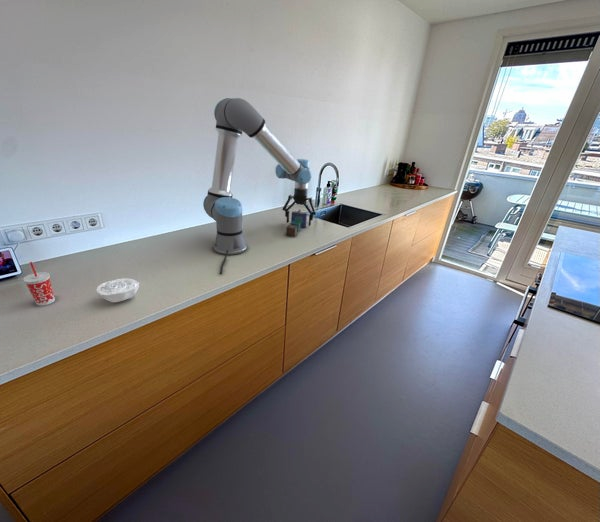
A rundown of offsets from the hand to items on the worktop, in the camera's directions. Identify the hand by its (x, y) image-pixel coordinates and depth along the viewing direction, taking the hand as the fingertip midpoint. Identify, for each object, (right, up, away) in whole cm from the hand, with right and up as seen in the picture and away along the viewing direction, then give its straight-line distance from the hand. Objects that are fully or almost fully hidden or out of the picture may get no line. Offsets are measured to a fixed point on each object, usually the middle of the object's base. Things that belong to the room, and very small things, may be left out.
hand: (298, 223), depth 172 cm
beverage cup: (-80, -35, -80) cm, 119 cm away
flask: (0, -2, +1) cm, 2 cm away
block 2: (-4, -8, -12) cm, 15 cm away
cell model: (-59, -35, -76) cm, 103 cm away
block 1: (-2, -5, -6) cm, 8 cm away
